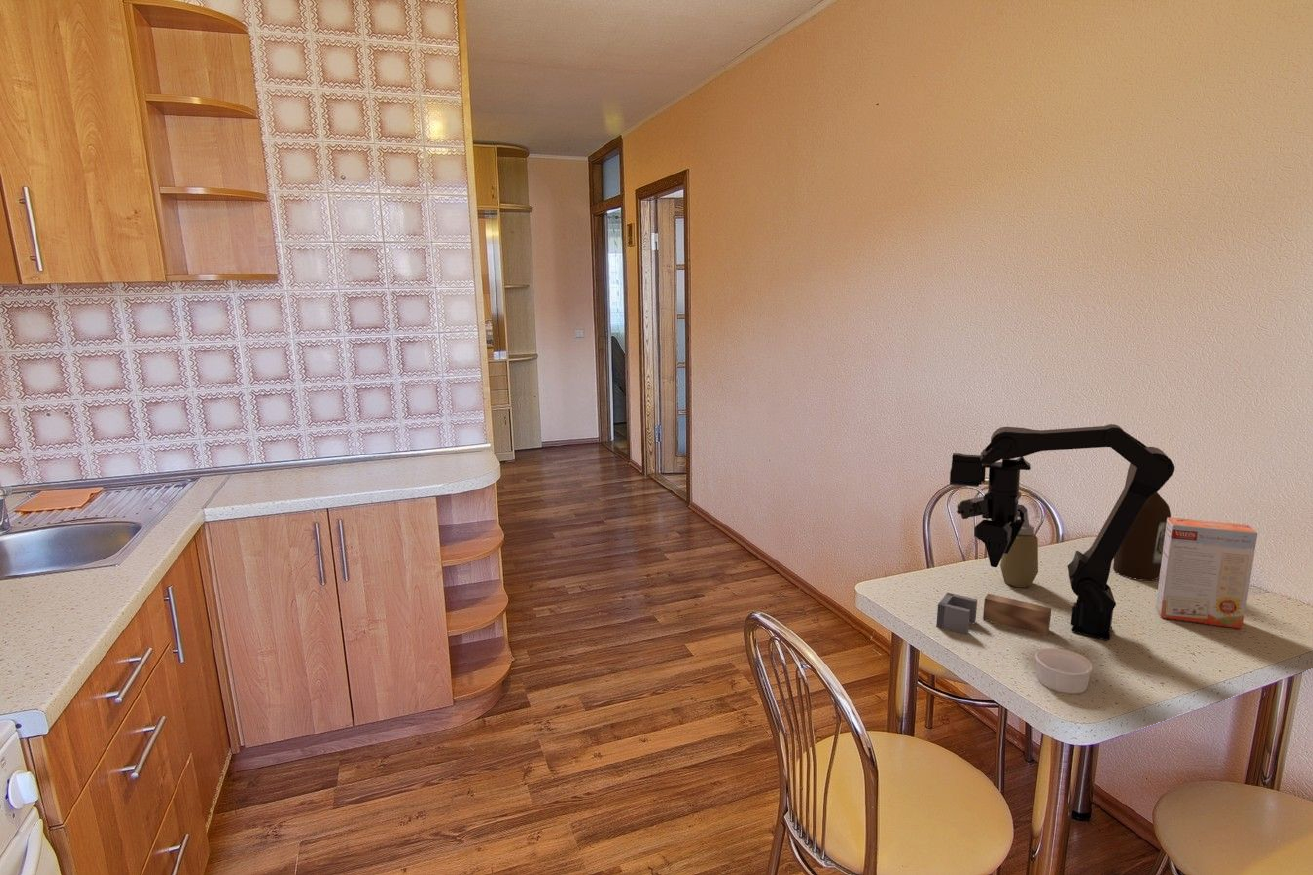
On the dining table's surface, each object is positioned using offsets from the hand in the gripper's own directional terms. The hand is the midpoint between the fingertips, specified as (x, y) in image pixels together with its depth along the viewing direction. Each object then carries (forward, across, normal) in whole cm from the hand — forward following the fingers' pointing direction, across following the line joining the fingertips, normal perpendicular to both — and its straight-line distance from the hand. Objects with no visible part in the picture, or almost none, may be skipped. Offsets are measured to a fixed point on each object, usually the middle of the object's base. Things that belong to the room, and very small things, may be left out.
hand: (999, 559), depth 149 cm
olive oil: (+14, -44, +21) cm, 51 cm away
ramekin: (+13, +21, +16) cm, 29 cm away
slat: (+13, +2, +4) cm, 14 cm away
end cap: (+12, +10, -6) cm, 17 cm away
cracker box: (+14, -23, +34) cm, 43 cm away
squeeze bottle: (+13, -20, 0) cm, 24 cm away
